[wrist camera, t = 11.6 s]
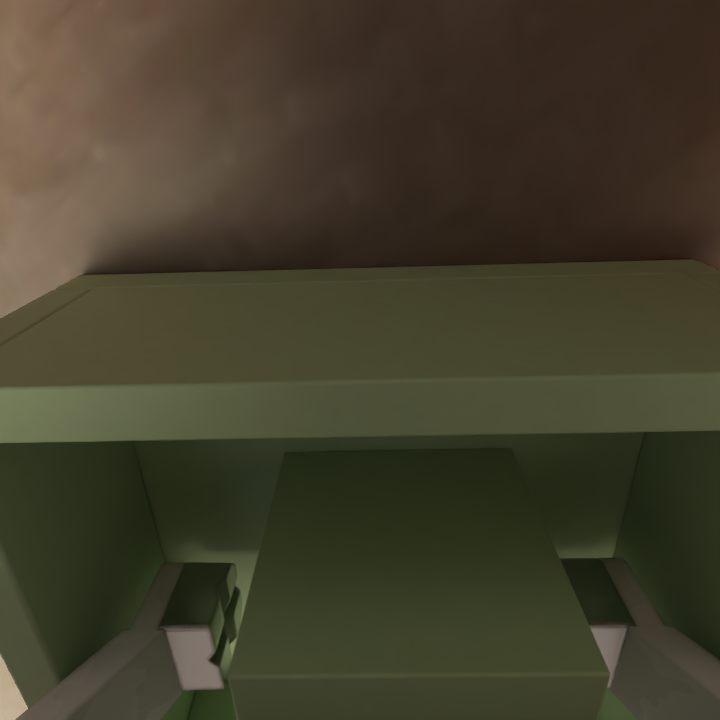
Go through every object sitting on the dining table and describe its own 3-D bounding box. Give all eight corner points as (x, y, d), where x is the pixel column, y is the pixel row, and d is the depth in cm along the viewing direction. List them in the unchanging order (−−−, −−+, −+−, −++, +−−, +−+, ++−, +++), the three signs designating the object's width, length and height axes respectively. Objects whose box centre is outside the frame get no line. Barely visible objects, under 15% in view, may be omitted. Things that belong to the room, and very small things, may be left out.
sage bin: (186, 665, 16) (115, 881, 11) (79, 274, 10) (-139, 390, 6) (591, 662, 16) (682, 883, 11) (695, 258, 10) (957, 368, 6)
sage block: (302, 608, 13) (268, 860, 9) (283, 451, 11) (225, 678, 7) (493, 606, 13) (559, 860, 9) (512, 446, 11) (612, 675, 6)
